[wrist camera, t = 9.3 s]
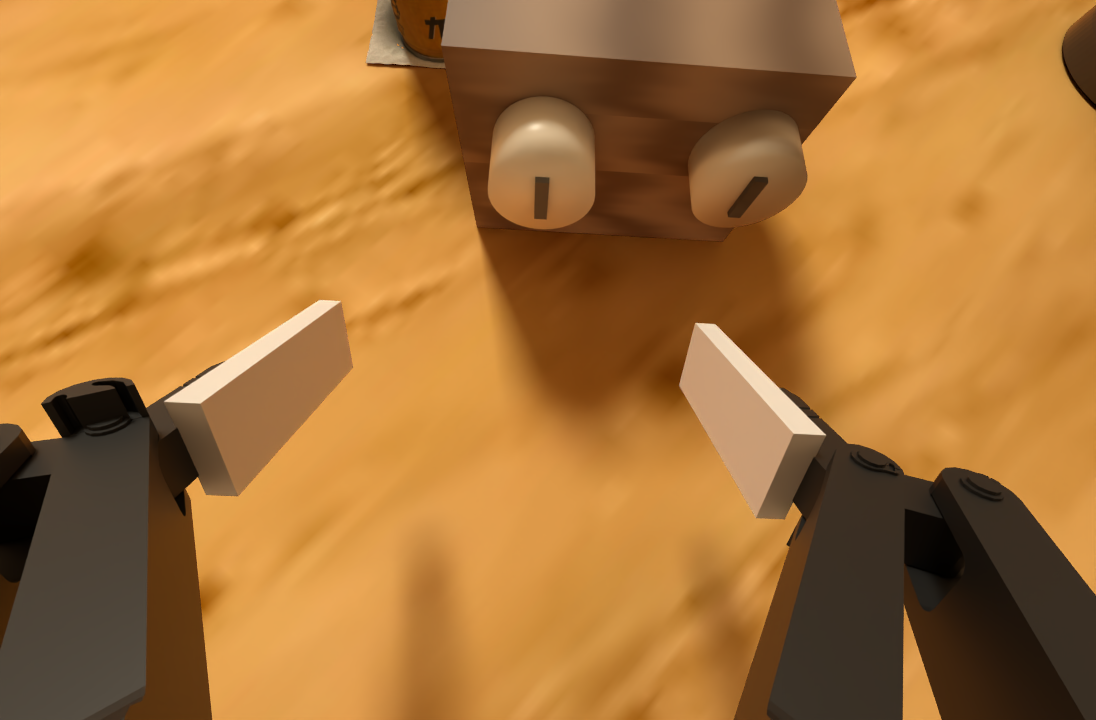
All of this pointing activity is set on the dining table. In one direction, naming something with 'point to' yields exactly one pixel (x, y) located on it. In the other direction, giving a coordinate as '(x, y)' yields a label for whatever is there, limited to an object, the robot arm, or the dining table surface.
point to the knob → (542, 163)
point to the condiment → (408, 33)
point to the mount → (656, 101)
